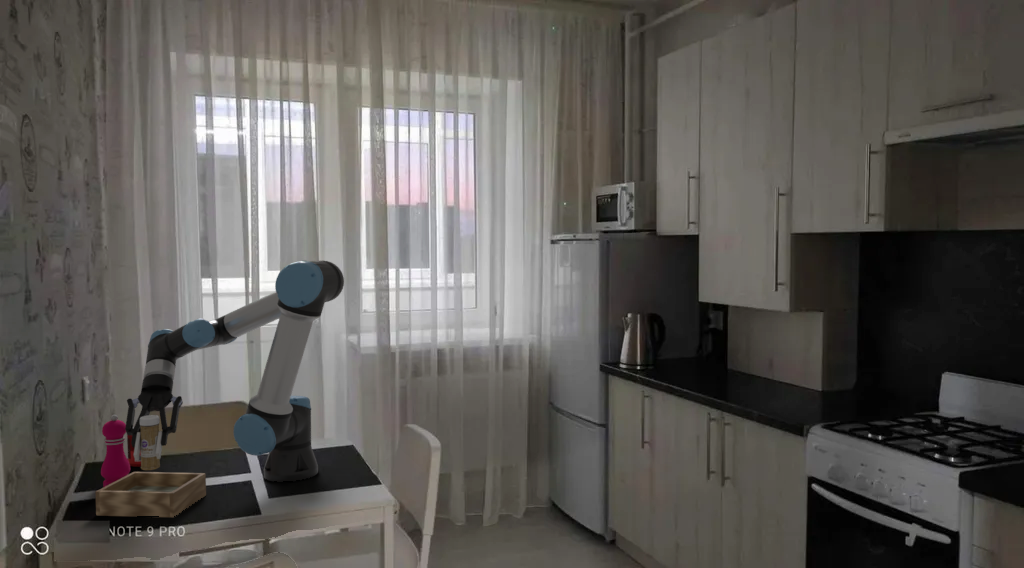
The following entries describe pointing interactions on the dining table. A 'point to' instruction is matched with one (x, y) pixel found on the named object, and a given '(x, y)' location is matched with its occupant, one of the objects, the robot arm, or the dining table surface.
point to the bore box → (151, 494)
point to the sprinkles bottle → (149, 442)
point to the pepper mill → (114, 451)
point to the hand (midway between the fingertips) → (147, 456)
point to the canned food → (132, 453)
